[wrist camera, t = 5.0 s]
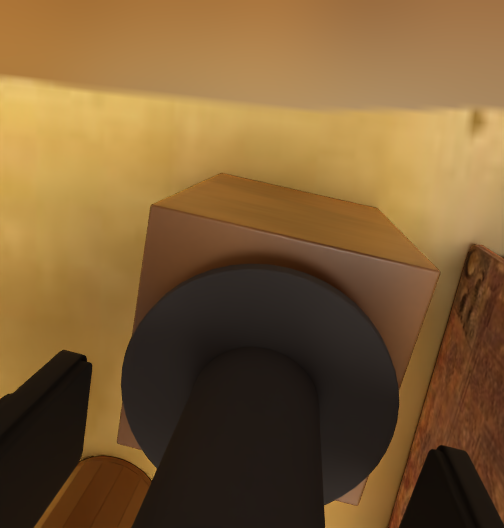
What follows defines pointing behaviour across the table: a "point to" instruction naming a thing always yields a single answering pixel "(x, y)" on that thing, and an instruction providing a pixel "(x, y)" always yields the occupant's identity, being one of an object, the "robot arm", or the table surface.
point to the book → (467, 383)
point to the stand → (289, 256)
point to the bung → (256, 399)
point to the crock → (98, 496)
